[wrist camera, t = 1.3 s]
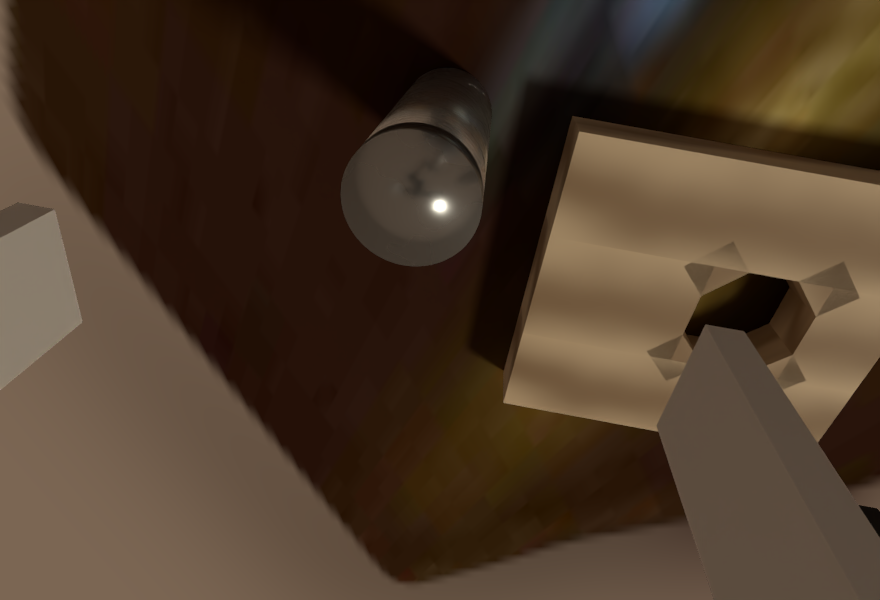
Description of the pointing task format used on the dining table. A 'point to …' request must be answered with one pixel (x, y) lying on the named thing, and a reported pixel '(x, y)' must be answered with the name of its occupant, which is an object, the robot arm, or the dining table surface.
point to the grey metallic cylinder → (422, 172)
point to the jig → (693, 272)
